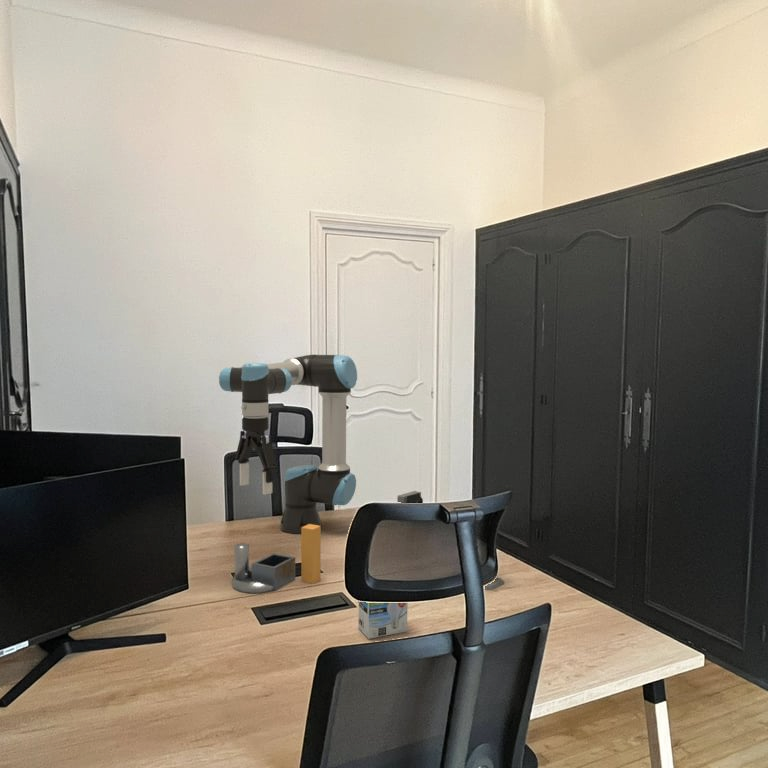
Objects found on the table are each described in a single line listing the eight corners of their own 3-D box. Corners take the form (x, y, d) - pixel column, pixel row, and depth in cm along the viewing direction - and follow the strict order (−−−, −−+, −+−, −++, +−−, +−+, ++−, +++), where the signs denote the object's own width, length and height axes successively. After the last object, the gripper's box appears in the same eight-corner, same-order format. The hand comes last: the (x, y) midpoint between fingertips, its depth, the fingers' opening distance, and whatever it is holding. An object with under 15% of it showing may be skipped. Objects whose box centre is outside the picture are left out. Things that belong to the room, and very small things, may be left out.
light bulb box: (368, 640, 149) (368, 595, 148) (357, 628, 155) (357, 585, 154) (408, 631, 154) (409, 588, 153) (396, 620, 160) (396, 578, 159)
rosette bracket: (254, 570, 193) (254, 534, 192) (295, 579, 186) (295, 542, 185) (220, 587, 180) (220, 549, 179) (263, 597, 173) (263, 558, 172)
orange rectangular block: (309, 576, 188) (309, 523, 187) (320, 579, 186) (320, 525, 185) (301, 581, 185) (301, 527, 184) (312, 583, 183) (312, 529, 182)
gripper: (223, 413, 190) (224, 483, 192) (265, 422, 171) (266, 499, 173) (246, 411, 195) (246, 479, 196) (289, 420, 176) (289, 495, 177)
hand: (255, 489), depth 184 cm, fingers open, 13 cm apart
